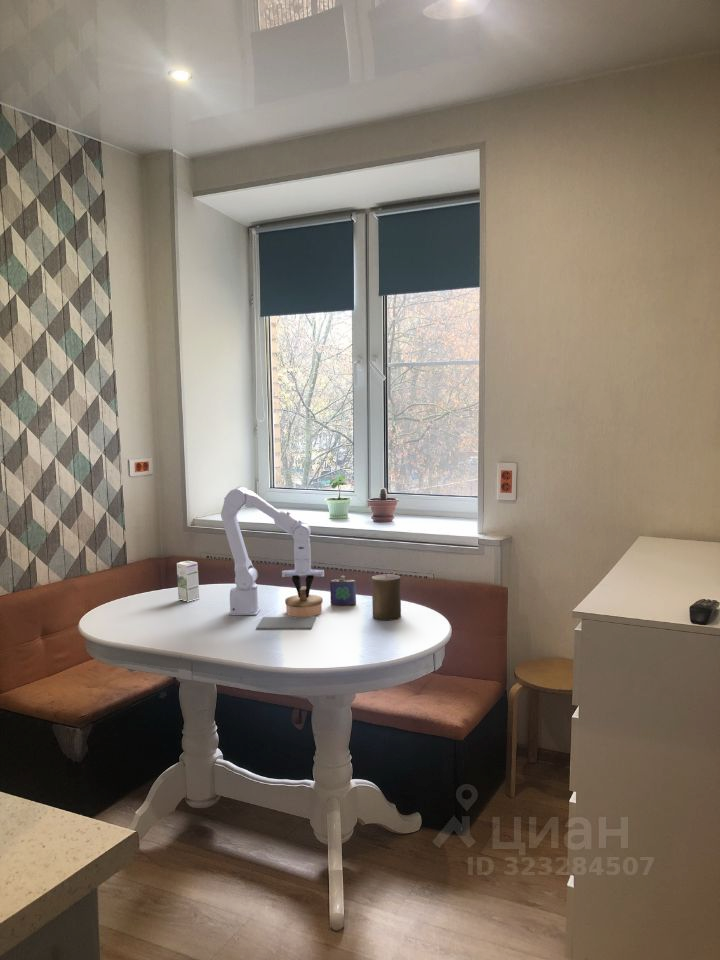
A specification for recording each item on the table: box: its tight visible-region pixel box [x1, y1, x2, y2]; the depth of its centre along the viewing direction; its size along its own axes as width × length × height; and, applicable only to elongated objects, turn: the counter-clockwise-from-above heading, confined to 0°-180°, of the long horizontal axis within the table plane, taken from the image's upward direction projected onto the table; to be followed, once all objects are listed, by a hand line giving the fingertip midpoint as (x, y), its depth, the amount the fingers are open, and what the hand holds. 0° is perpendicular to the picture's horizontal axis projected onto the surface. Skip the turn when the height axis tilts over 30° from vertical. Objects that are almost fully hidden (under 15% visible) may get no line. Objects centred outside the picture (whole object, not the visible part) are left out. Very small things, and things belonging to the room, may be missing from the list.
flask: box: [329, 575, 357, 607], centre depth 262 cm, size 9×3×11 cm, turn 87°
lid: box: [284, 585, 323, 607], centre depth 254 cm, size 13×13×5 cm
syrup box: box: [176, 560, 200, 601], centre depth 274 cm, size 6×6×14 cm
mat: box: [255, 616, 317, 630], centre depth 241 cm, size 18×12×1 cm, turn 87°
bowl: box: [285, 602, 323, 617], centre depth 255 cm, size 12×12×4 cm
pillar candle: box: [371, 573, 402, 621], centre depth 246 cm, size 10×10×15 cm
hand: (303, 596), depth 254 cm, fingers closed
